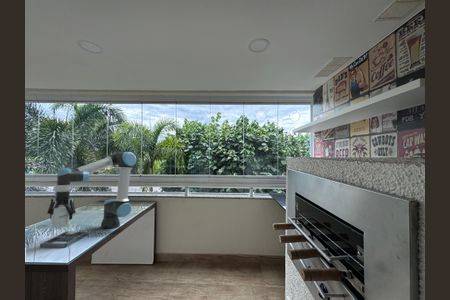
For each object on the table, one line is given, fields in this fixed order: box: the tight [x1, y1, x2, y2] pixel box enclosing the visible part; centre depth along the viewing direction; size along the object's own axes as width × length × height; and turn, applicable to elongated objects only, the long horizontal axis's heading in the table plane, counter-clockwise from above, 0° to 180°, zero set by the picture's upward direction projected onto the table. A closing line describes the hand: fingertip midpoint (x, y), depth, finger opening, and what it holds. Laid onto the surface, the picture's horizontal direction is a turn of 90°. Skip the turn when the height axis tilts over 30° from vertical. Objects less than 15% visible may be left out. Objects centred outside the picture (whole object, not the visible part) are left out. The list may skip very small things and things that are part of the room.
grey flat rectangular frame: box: [39, 230, 89, 249], centre depth 165 cm, size 27×16×2 cm, turn 3°
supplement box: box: [51, 206, 70, 229], centre depth 159 cm, size 7×7×13 cm
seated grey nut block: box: [64, 230, 79, 237], centre depth 171 cm, size 6×6×4 cm
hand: (60, 224), depth 159 cm, fingers closed on supplement box, 10 cm apart
